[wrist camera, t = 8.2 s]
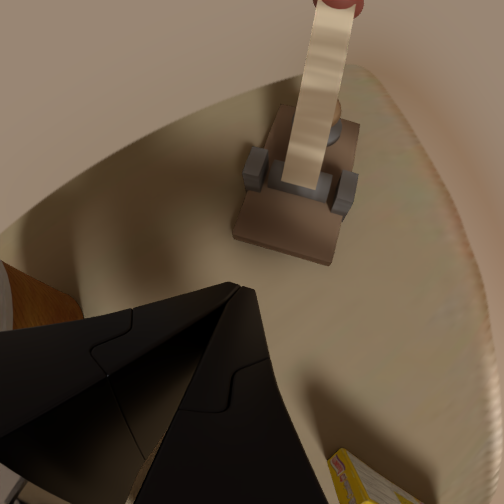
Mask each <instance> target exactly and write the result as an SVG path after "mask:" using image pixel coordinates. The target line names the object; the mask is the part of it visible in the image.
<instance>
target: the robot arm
mask: <svg viewBox="0 0 504 504" xmlns="http://www.w3.org/2000/svg"><path fill="white" fill-rule="evenodd" d="M167 429H168V430H167ZM166 430H167V432H166ZM165 432H166V434H165V436H164V438H163V440H162V443H161V445H160V447H159V449H158V451H157V453H156V456H155V458H154V460H153V462H152V464H151V467H150V469H149V471H148V473H147V475H146V477H145V480H144V482H143V484H142V486H141V488H140V490H139V493H138V495H137V497H136V499H135V501H134V503H133V504H329V503H328V501H327V499H326V497H325V495H324V492H323V490H322V488H321V486H320V484H319V482H318V479H317V477H316V475H315V473H314V471H313V468H312V466H311V464H310V462H309V459H308V457H307V455H306V453H305V450H304V448H303V446H302V444H301V441H300V439H299V437H298V434H297V432H296V430H295V428H294V425H293V423H292V421H291V418H290V416H289V414H288V411H287V409H286V407H285V404H284V402H283V399H282V396H281V394H280V391H279V388H278V385H277V382H276V378H275V375H274V371H273V367H272V362H271V360H270V355H269V351H268V346H267V342H266V337H265V332H264V328H263V323H262V319H261V314H260V310H259V305H258V301H257V296H256V292H255V290H254V289H251V288H248V287H245V286H242V287H241V286H240V285H238V284H235V283H232V282H224V283H221V284H218V285H214V286H211V287H207V288H204V289H200V290H197V291H193V292H189V293H186V294H182V295H179V296H175V297H172V298H168V299H164V300H161V301H157V302H153V303H150V304H146V305H142V306H139V307H135V308H133V310H132V309H131V308H129V309H126V310H122V311H118V312H114V313H110V314H106V315H101V316H96V317H91V318H86V319H80V320H74V321H68V322H62V323H56V324H49V325H42V326H36V327H29V328H22V329H15V330H7V331H0V504H125V503H126V500H127V498H128V495H129V493H130V490H131V488H132V485H133V483H134V480H135V478H136V475H137V473H138V472H139V470H140V468H141V466H142V465H143V463H144V462H145V460H146V459H147V458H148V456H149V455H150V453H151V452H152V450H153V449H154V448H155V446H156V445H157V443H158V442H159V440H160V439H161V437H162V436H163V434H164V433H165Z"/></svg>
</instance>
